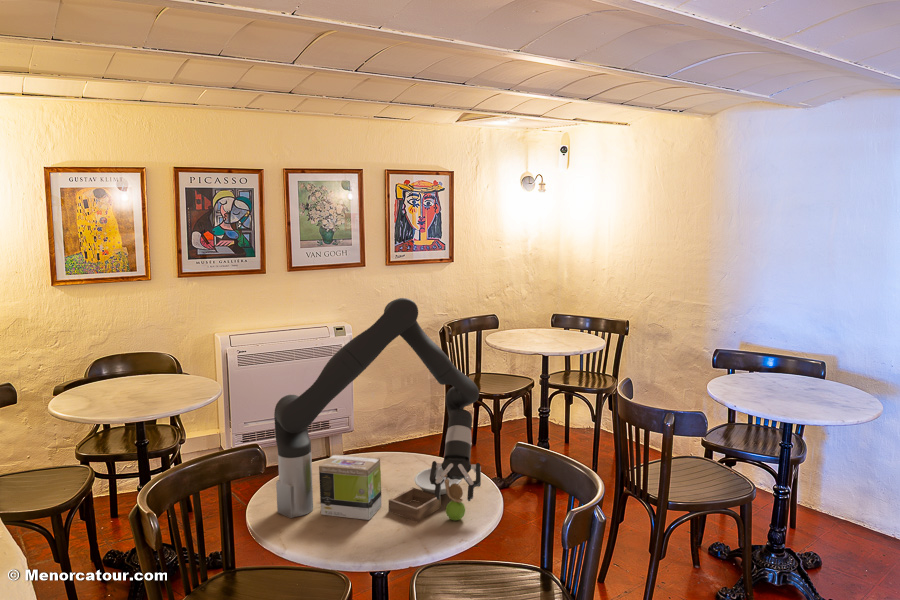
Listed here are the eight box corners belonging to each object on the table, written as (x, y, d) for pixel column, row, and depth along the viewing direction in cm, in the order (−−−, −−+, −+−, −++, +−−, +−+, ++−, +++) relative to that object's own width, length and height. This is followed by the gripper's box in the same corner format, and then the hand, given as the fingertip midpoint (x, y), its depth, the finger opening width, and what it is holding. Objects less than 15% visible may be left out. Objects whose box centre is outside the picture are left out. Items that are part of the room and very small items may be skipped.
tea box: (382, 506, 184) (381, 457, 183) (369, 521, 175) (367, 470, 173) (335, 500, 188) (333, 452, 187) (319, 515, 179) (317, 465, 177)
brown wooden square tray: (417, 521, 174) (417, 509, 174) (388, 511, 181) (388, 499, 180) (440, 507, 183) (440, 496, 182) (412, 498, 189) (412, 487, 189)
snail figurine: (451, 512, 180) (451, 471, 179) (469, 518, 176) (469, 477, 175) (439, 519, 176) (438, 477, 174) (457, 525, 172) (456, 483, 170)
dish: (457, 507, 183) (457, 491, 182) (408, 504, 185) (408, 487, 185) (466, 483, 200) (466, 468, 199) (422, 480, 203) (421, 465, 202)
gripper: (432, 438, 182) (426, 493, 172) (481, 440, 180) (478, 495, 170) (435, 449, 188) (429, 503, 178) (483, 451, 186) (480, 505, 176)
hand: (453, 499), depth 174 cm, fingers open, 8 cm apart
